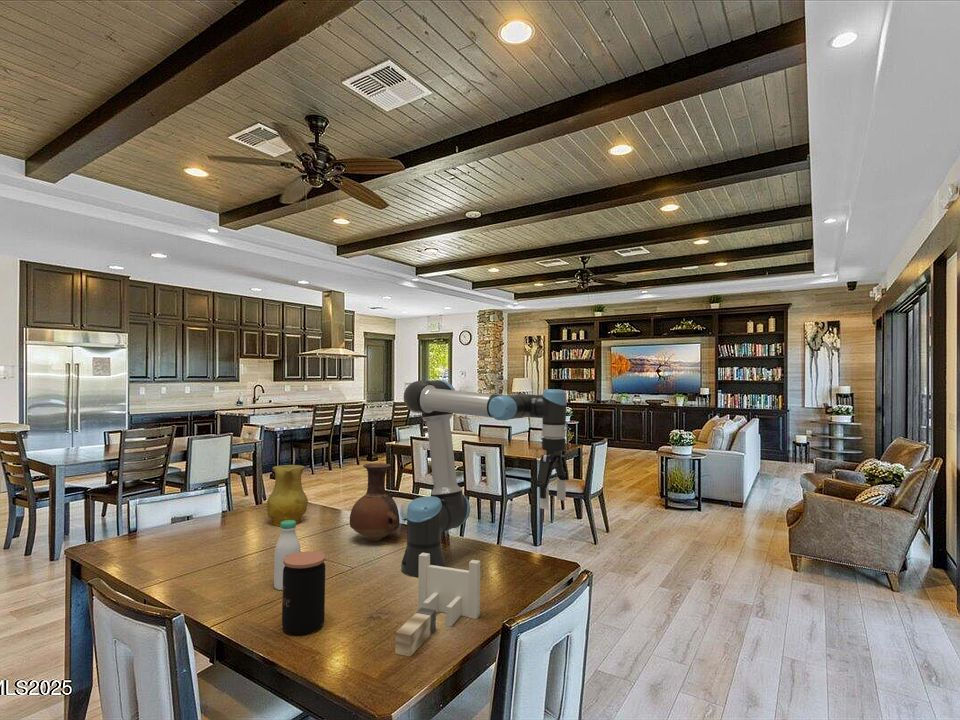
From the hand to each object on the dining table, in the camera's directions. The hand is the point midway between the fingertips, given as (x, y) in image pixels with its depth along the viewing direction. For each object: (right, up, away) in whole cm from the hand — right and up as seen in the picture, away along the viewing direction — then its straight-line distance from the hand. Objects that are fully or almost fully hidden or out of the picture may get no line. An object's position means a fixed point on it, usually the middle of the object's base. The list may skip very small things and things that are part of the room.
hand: (552, 504), depth 171 cm
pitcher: (-109, -26, +67) cm, 130 cm away
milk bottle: (-84, -25, -4) cm, 87 cm away
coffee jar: (-70, -24, -30) cm, 80 cm away
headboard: (-33, -25, -24) cm, 48 cm away
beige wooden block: (-39, -24, -37) cm, 59 cm away
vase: (-65, -26, +42) cm, 82 cm away
